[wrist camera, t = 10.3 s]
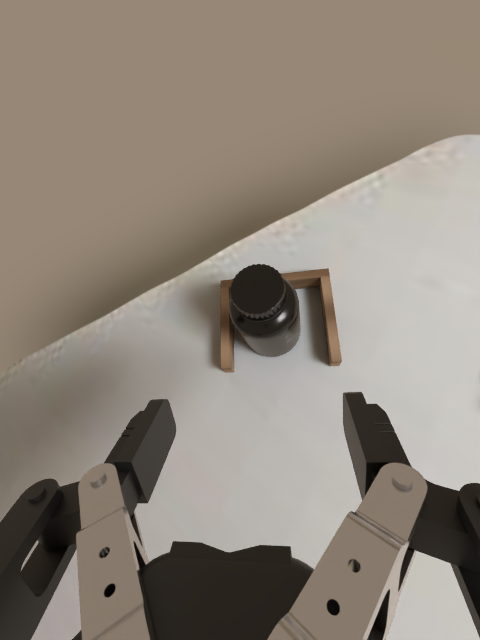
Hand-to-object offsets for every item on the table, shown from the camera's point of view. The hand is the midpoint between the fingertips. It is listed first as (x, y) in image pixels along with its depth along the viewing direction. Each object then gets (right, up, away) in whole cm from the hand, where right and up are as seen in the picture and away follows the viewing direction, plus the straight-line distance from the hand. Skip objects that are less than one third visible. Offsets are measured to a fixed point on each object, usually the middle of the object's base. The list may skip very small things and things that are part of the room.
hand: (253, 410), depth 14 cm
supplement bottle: (+3, +3, +23) cm, 23 cm away
